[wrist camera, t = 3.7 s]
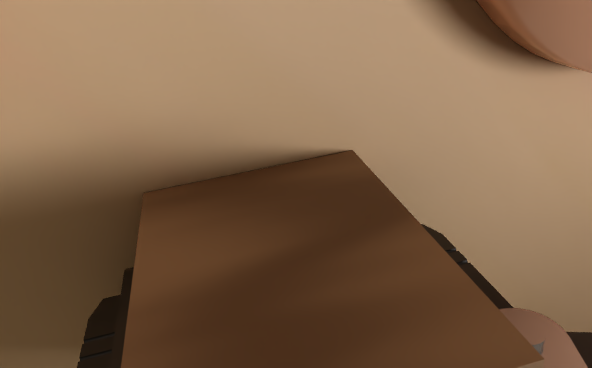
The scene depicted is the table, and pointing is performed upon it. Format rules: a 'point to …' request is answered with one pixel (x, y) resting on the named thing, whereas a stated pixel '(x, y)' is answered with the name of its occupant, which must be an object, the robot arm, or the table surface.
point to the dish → (547, 28)
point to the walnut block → (304, 279)
